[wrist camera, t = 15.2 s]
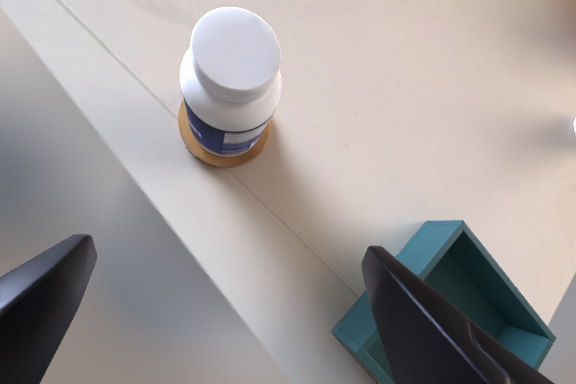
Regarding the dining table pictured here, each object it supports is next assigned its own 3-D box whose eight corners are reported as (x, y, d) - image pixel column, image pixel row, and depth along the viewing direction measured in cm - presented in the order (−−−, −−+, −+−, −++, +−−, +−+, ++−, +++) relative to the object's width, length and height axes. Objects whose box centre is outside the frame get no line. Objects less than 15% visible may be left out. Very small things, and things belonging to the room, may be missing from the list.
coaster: (221, 186, 22) (221, 185, 21) (158, 114, 21) (156, 111, 20) (286, 132, 24) (288, 130, 23) (230, 65, 23) (231, 61, 22)
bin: (430, 442, 24) (472, 484, 20) (330, 331, 23) (355, 352, 19) (508, 322, 27) (557, 338, 24) (426, 220, 26) (463, 219, 22)
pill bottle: (177, 100, 21) (151, 0, 12) (245, 82, 23) (270, -19, 13) (205, 168, 21) (201, 122, 12) (271, 145, 22) (314, 88, 13)
